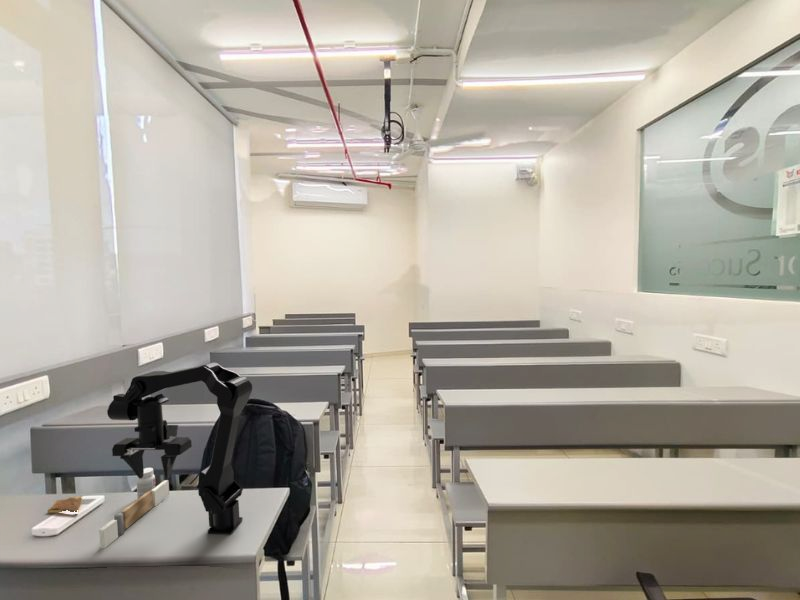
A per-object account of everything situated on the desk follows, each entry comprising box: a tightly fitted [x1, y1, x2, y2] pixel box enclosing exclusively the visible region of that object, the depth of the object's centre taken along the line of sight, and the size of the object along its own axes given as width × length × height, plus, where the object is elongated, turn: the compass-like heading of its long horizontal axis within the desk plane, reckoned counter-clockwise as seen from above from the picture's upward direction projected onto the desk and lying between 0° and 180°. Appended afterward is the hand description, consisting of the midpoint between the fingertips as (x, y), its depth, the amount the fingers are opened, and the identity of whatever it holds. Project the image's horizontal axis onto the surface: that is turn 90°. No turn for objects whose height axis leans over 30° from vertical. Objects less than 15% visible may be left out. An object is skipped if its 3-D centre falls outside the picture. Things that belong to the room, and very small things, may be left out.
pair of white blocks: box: [98, 479, 170, 549], centre depth 112 cm, size 2×24×5 cm, turn 175°
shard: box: [47, 496, 83, 514], centre depth 118 cm, size 11×8×2 cm
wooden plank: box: [120, 491, 154, 530], centre depth 112 cm, size 10×2×5 cm, turn 175°
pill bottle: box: [135, 467, 157, 500], centre depth 123 cm, size 5×5×8 cm
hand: (154, 477), depth 111 cm, fingers open, 7 cm apart
